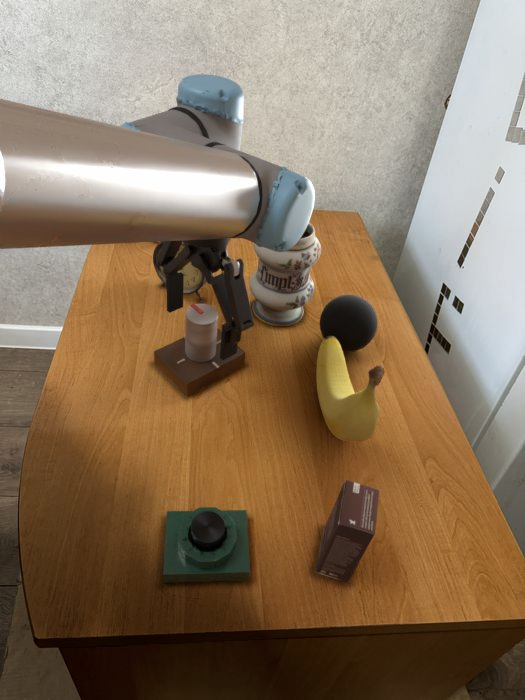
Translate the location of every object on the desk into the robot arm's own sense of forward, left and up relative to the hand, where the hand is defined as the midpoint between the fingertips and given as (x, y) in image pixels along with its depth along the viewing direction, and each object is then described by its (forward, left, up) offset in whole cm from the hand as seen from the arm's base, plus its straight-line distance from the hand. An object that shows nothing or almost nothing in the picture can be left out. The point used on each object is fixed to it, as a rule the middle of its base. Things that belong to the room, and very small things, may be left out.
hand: (200, 331), depth 83 cm
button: (-19, -26, -4) cm, 32 cm away
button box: (-19, -26, -8) cm, 33 cm away
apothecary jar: (+21, +3, -8) cm, 23 cm away
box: (-7, -37, -8) cm, 38 cm away
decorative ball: (+24, -11, -8) cm, 28 cm away
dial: (0, 0, -5) cm, 5 cm away
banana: (+11, -21, -8) cm, 25 cm away
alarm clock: (+10, +18, -8) cm, 22 cm away
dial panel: (0, 0, -8) cm, 8 cm away
